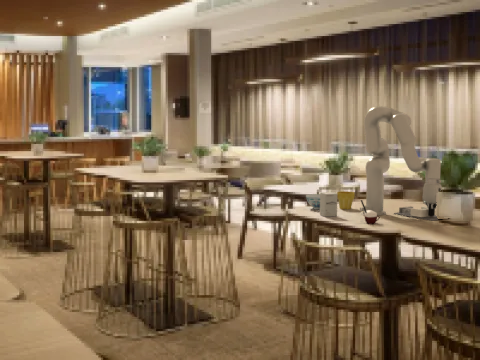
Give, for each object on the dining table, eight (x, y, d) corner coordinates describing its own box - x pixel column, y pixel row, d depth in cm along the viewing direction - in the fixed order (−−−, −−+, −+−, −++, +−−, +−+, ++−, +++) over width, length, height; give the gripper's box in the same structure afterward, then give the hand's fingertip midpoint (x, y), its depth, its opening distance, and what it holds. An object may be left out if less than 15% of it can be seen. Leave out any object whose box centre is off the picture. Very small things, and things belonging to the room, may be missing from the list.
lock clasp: (421, 217, 322) (421, 209, 322) (410, 215, 328) (410, 208, 328) (434, 215, 327) (434, 208, 327) (423, 213, 334) (423, 206, 333)
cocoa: (379, 222, 311) (380, 199, 309) (379, 224, 305) (380, 200, 303) (360, 221, 313) (360, 198, 312) (360, 223, 307) (360, 200, 305)
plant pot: (357, 209, 356) (358, 192, 355) (342, 210, 353) (342, 193, 352) (348, 207, 366) (348, 190, 365) (333, 207, 362) (333, 191, 361)
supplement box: (324, 216, 328) (325, 193, 327) (319, 214, 336) (319, 192, 334) (337, 216, 330) (337, 193, 329) (331, 214, 337) (332, 191, 336)
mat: (432, 220, 316) (432, 219, 316) (393, 214, 339) (393, 213, 339) (450, 218, 323) (450, 217, 323) (411, 212, 346) (411, 211, 346)
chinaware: (336, 208, 359) (336, 195, 358) (321, 211, 348) (322, 198, 347) (315, 206, 369) (315, 193, 368) (300, 208, 358) (301, 195, 357)
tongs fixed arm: (420, 216, 326) (420, 211, 326) (398, 212, 339) (398, 207, 339) (432, 215, 331) (432, 209, 331) (410, 211, 344) (410, 206, 344)
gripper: (448, 182, 316) (447, 217, 318) (426, 180, 329) (425, 213, 331) (439, 183, 312) (437, 218, 314) (416, 180, 325) (415, 214, 327)
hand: (431, 215), depth 323 cm, fingers closed
